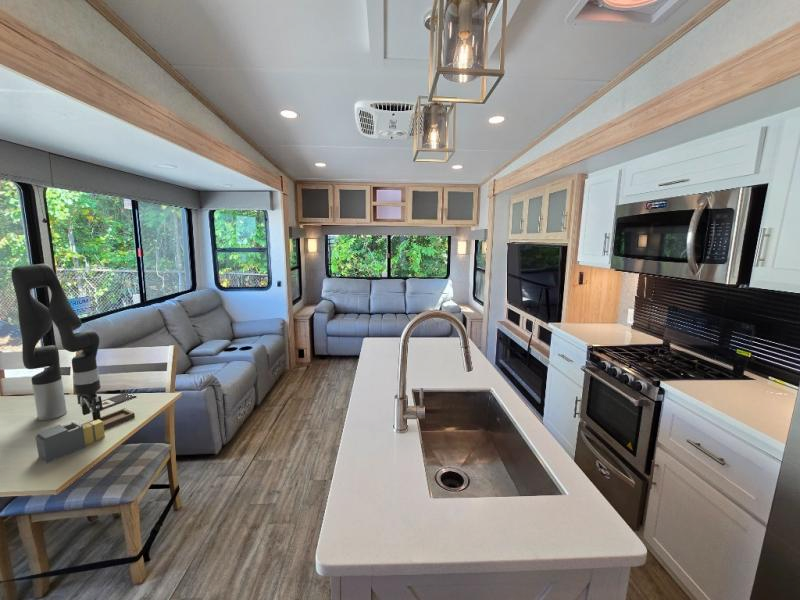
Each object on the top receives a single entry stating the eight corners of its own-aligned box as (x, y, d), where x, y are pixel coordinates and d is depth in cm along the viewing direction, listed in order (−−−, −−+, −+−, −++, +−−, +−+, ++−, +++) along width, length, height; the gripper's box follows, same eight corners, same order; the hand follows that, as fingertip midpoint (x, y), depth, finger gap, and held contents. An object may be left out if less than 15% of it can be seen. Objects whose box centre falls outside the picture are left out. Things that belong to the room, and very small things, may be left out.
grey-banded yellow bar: (59, 451, 128) (56, 434, 127) (100, 434, 140) (98, 419, 139) (63, 453, 127) (61, 437, 126) (104, 436, 138) (102, 421, 137)
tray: (75, 431, 141) (74, 426, 140) (124, 412, 157) (124, 408, 157) (85, 437, 137) (84, 432, 137) (134, 417, 153) (134, 412, 153)
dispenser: (38, 457, 124) (34, 433, 123) (77, 441, 134) (74, 419, 133) (47, 463, 122) (43, 439, 120) (85, 446, 132) (82, 424, 130)
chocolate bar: (136, 396, 172) (94, 411, 155) (137, 397, 172) (94, 413, 156) (126, 392, 175) (84, 406, 159) (127, 393, 175) (84, 408, 159)
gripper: (65, 379, 132) (71, 416, 134) (83, 387, 126) (88, 426, 128) (89, 373, 138) (94, 408, 141) (107, 380, 132) (111, 417, 135)
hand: (91, 416), depth 135 cm, fingers open, 8 cm apart
